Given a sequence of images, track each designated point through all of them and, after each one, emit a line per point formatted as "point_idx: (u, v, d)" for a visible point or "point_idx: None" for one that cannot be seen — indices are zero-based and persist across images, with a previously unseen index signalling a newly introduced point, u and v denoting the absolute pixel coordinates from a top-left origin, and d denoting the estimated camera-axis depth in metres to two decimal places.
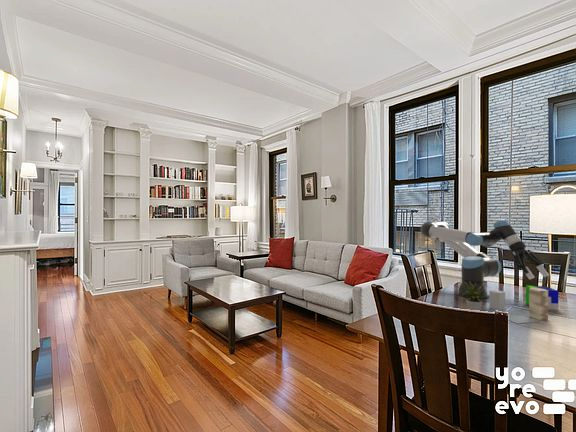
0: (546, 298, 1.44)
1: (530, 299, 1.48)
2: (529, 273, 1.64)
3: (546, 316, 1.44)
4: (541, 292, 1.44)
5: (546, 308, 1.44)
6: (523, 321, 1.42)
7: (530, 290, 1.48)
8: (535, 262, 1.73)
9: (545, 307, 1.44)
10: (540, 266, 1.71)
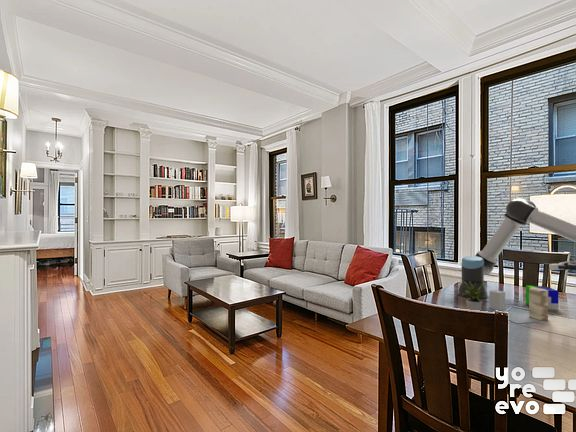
0: (546, 298, 1.44)
1: (530, 299, 1.48)
2: (557, 268, 1.47)
3: (546, 316, 1.44)
4: (541, 292, 1.44)
5: (546, 308, 1.44)
6: (523, 321, 1.42)
7: (530, 290, 1.48)
8: None
9: (545, 307, 1.44)
10: None
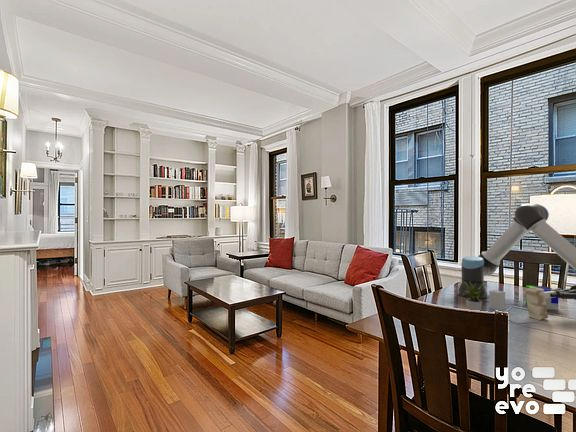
0: (543, 297, 1.44)
1: (527, 300, 1.48)
2: (549, 296, 1.45)
3: (545, 315, 1.44)
4: (537, 292, 1.44)
5: (544, 307, 1.44)
6: (523, 321, 1.42)
7: (526, 291, 1.48)
8: None
9: (543, 306, 1.44)
10: None
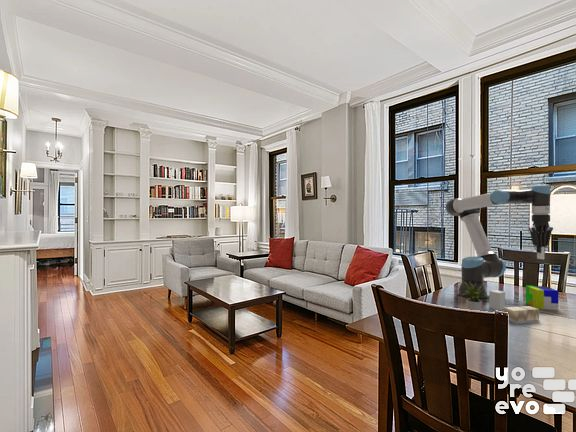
0: (520, 311, 1.42)
1: None
2: (540, 253, 1.60)
3: (536, 311, 1.44)
4: (515, 318, 1.42)
5: (529, 311, 1.43)
6: (523, 321, 1.42)
7: None
8: None
9: (528, 312, 1.43)
10: None
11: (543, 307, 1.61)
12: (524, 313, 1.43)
